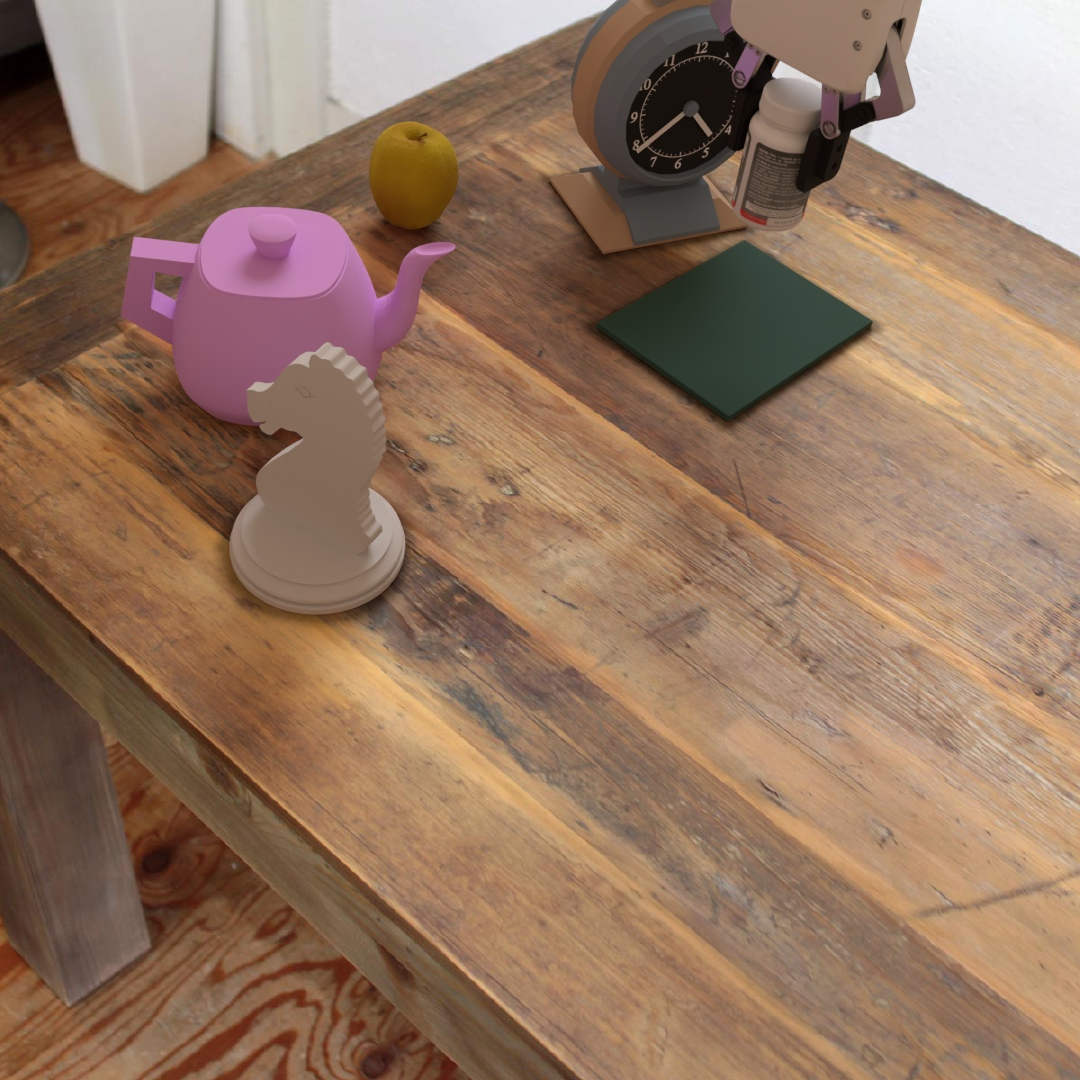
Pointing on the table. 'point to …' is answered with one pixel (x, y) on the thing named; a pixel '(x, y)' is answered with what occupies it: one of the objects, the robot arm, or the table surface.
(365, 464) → the chess piece
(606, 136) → the alarm clock
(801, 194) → the pill bottle
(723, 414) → the mat
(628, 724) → the table surface
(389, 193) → the apple
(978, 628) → the table surface
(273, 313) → the teapot
